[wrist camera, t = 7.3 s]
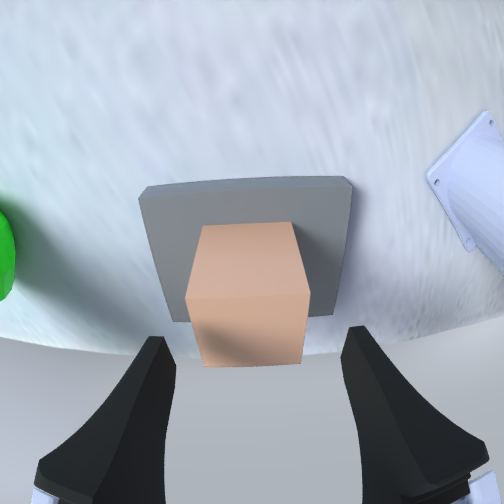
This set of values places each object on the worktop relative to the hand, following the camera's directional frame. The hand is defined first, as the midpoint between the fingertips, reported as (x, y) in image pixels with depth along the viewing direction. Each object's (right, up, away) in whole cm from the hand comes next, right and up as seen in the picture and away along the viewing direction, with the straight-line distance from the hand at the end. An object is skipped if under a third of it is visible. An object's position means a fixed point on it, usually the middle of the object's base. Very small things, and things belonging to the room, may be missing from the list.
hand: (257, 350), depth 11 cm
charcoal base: (0, +4, +9) cm, 10 cm away
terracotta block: (0, +3, +7) cm, 8 cm away
